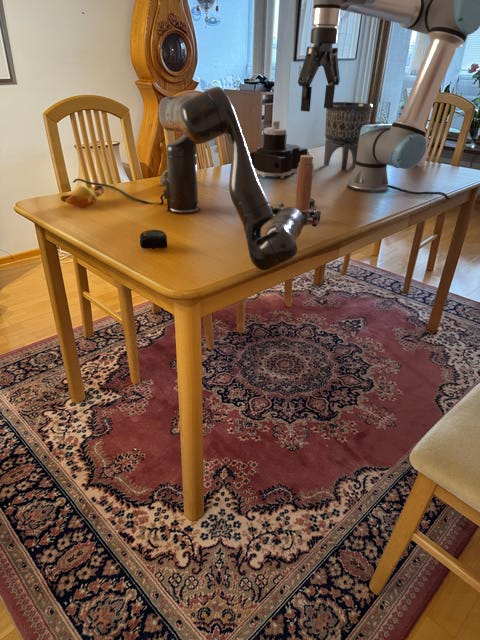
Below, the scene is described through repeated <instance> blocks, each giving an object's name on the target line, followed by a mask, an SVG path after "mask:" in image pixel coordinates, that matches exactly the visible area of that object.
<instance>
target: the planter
mask: <svg viewBox="0 0 480 640" xmlns="http://www.w3.org/2000/svg"><path fill="white" fill-rule="evenodd" d="M373 107H374V106H373V104H372V103H367V102H353V101H333V108H332V109H329V108H325V124H324V125H325V126H324V139H325V144H324V156H323V157H324V158H323V165H325V166H328V165H330V163H331V158H332V156H333V154H334V153H335V151H336V150H337V149H340V148H341V150H342V153H341V166H340V170H341V172H345V171H347V167H348V166H347V165H348V159H349V152H350V154H351V157H352V158H351V159H352V160H351V161H352V166H353V167H355V165H356V158H357V150H358V142H359V135H360V131H361V128H362V127H363V126H364V125H370V121H371V116H372V112H373Z"/></svg>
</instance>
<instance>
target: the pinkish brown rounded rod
mask: <svg viewBox="0 0 480 640" xmlns="http://www.w3.org/2000/svg"><path fill="white" fill-rule="evenodd" d="M313 160H314V156H313V155H311V154H310V155H301V156H300V162H299V163H298V171H297V176H296V177H297V179H296V188H295V200H294V201H295V202H294V208H296V209H297V210H299V211H300V210H305V209H306V210H310V208H309V207H310V198H312V197H311V195H312V186H313V177H314V176H313V175H314V165H315V163H313V162H314V161H313ZM303 214H304V213H303Z"/></svg>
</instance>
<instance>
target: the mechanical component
mask: <svg viewBox="0 0 480 640" xmlns="http://www.w3.org/2000/svg"><path fill="white" fill-rule="evenodd" d="M287 138H288V129H287V128H286V127H280V121H279V120H272V126H271V127H265V128H264V129H263V145H262V146H258V147H257V148H256V151H250V150H248V151H249V155H250V158H251V161H252V164H253V167H254V169H255V173H256V174H257V175H261V177H262V178H267V177H279V178H280V179H285V176H291V175H292V173H297V174H298V163H299V162H300V156H301V155H311V154H310V152H309V151H308V148H304V147H301V146H299V145H297V144H290V143H287Z"/></svg>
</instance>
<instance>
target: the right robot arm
mask: <svg viewBox="0 0 480 640" xmlns="http://www.w3.org/2000/svg"><path fill="white" fill-rule="evenodd" d="M312 7H313V9H312V15H311V18H312V21H311V26H312V27H313V28H311V30H310V39H309V40H310V43H311V44H312V45H313V46H307V47H306V52H305V57H304V61H303V63H302V66H301V70H300V73H299V76H298V80H297V84H298V86H299V87H301V102H300V112H307V113H309V112H310V111H311V100H312V90H313V89H312V88H313V86H311V85H312V83H313V81H314V78H315V76H316V75H317V73H318V70H319V68H320V67H322V68H323V71H324V75H325V78H326V81H327V84H325V91H324V93H325V94H324V103H323V109H327V108H329V109H332V108H333V102H334V99H335V89H336V86H339V84H340V81H341V78H340V68H339V67H340V66H339V58H338V57H339V56H338V54H339V48H338V47H333V45H335V44H337V43H338V34H339V30H338V28H337V27H339V26H340V16H341V11H344V12H349V13H354V14H358V15H361V16H366V17H370V18H374V19H380V20H384V21H388V22H393V23H397V24H399V26H400V28H402V29H407V30H409V31H410V30H411V31H414V32H417V33H419V34H424V35H427V36H428V39H429V45H428V47H427V49H426V52H425V55H424V57H423V59H422V62H421V64H420V67H419V70H418V72H417V74H416V77H415V79H414V82H413V84H412V87H411V89H410V91H409V93H408V96H407V99H406V101H405V104H404V106H403V108H402V111H401V114H400V116H399V118H398V119H395V120H394V121H393V122H392V123H386V124H384V123H383V124H382V123H381V124H369V125H364V126H363V127H362V128H361V131H360V135H359V142H358V150H357V158H356V165H355V166H354V167H353V171H351V174H350V176H349V179H348V180H347V181H348V182H347V187H348V188H349V189H351V190H354V191H358V192H363V193H364V192H365V193H382V192H386V191H388V189H393V190H396V191H399V192H402V193H406V194H411V195H441V196H443V197H444V198H445V199H446V200H450V197H449V195H448V194H447V193H445V192H442V191H412V190H407V189H405V188H404V189H403V188H400V187H397V186H394V185H391V184H389V178H388V173H387V172H388V171H387V166H390V167H393V168H395V169H403V170H408V169H411V168H413V167H414V166H415V167H416V166H417V165H416V164H417V163H419V162H420V160H421V159H422V158H423V156H424V154H425V151H426V147H427V148H428V145H427V146H426V139H425V137H426V133H427V131H426V128H425V124H426V122H427V119H428V117H429V115H430V113H431V110H432V108H433V105H434V103H435V102H436V101H435V100H436V99H437V96H438V93H439V91H440V89H441V86H442V84H443V82H444V80H445V77H446V75H447V72H448V70H449V68H450V66H451V63H452V61H453V58H454V56H455V54H456V52H457V50H458V49H459V48H461V47H463V46H464V45H465V42H466V40H467V38H468V35H472V34H473V33H475V32H476V31H478V30H479V28H480V0H313V6H312Z"/></svg>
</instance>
